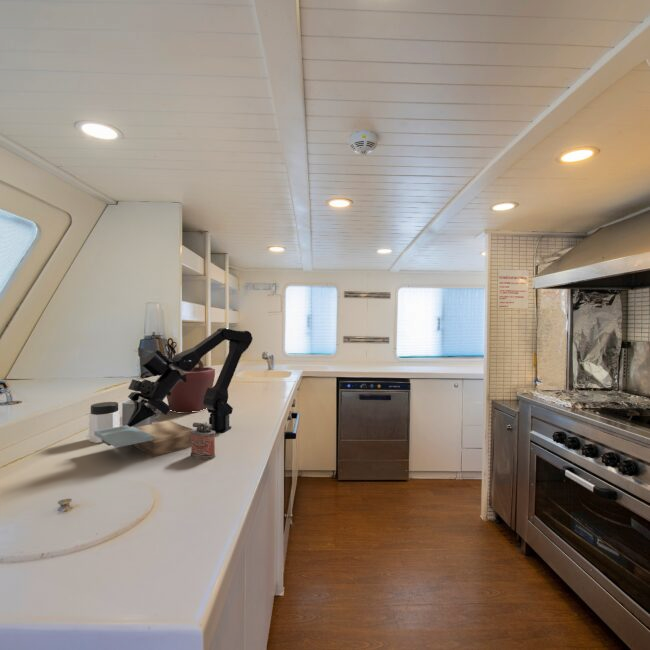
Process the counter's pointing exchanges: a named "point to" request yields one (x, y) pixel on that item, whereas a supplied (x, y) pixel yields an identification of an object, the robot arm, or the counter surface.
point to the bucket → (191, 389)
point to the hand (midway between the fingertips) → (128, 426)
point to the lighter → (202, 441)
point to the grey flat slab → (122, 436)
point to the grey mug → (128, 410)
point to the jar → (103, 418)
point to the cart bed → (165, 438)
